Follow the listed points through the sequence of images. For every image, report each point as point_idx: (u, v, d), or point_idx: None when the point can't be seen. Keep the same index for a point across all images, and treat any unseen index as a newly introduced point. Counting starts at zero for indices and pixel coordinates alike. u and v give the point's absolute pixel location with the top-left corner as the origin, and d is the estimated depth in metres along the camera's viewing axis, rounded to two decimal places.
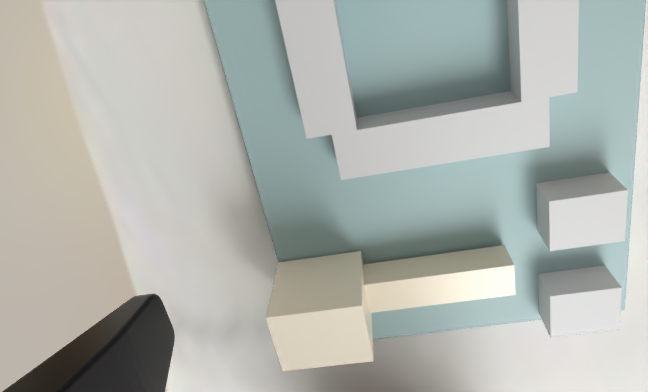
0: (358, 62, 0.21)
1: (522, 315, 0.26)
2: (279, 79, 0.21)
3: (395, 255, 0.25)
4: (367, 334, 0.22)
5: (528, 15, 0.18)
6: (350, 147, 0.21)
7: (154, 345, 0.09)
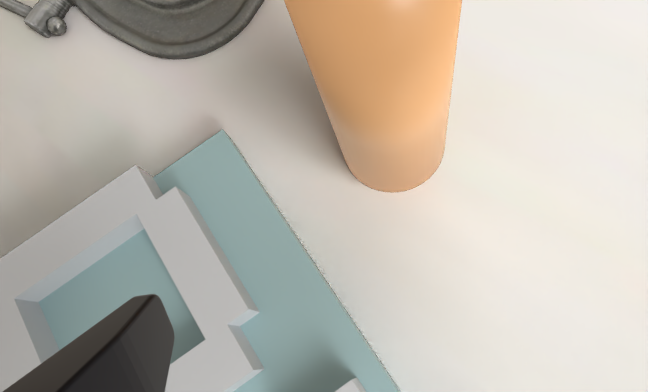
0: None
1: None
2: None
3: None
4: None
5: (176, 269, 0.21)
6: None
7: (154, 345, 0.09)
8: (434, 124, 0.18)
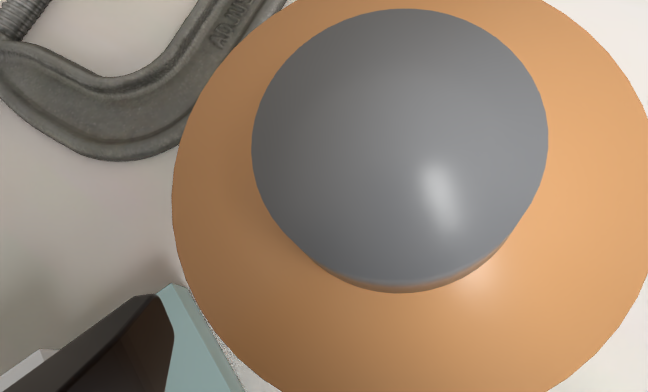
0: None
1: None
2: None
3: None
4: None
5: None
6: None
7: (154, 345, 0.09)
8: None
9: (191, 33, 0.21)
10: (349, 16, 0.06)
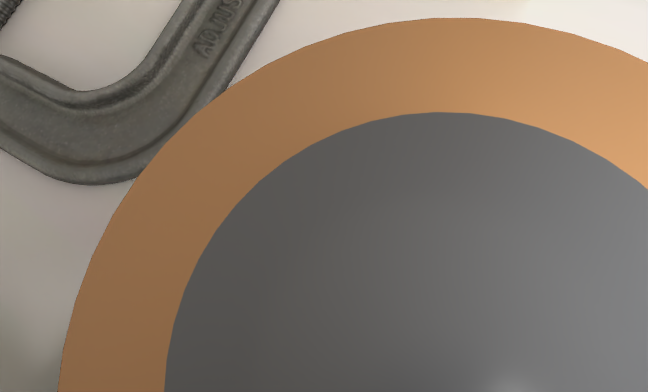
0: None
1: None
2: None
3: None
4: None
5: None
6: None
7: None
8: None
9: (172, 40, 0.19)
10: (350, 93, 0.04)
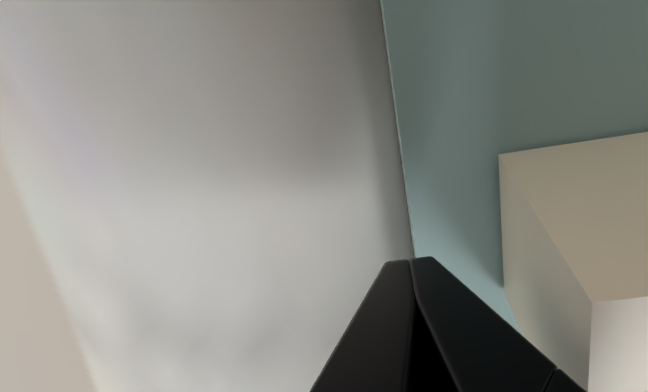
0: None
1: None
2: None
3: None
4: None
5: None
6: None
7: None
8: None
9: None
10: None
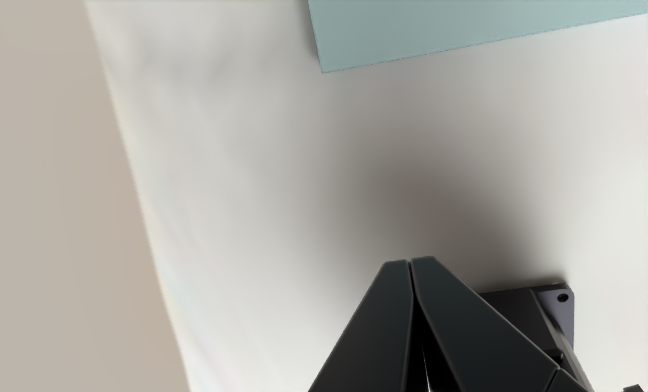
0: None
1: (647, 1, 0.18)
2: None
3: None
4: None
5: None
6: None
7: (417, 313, 0.08)
8: None
9: None
10: None
